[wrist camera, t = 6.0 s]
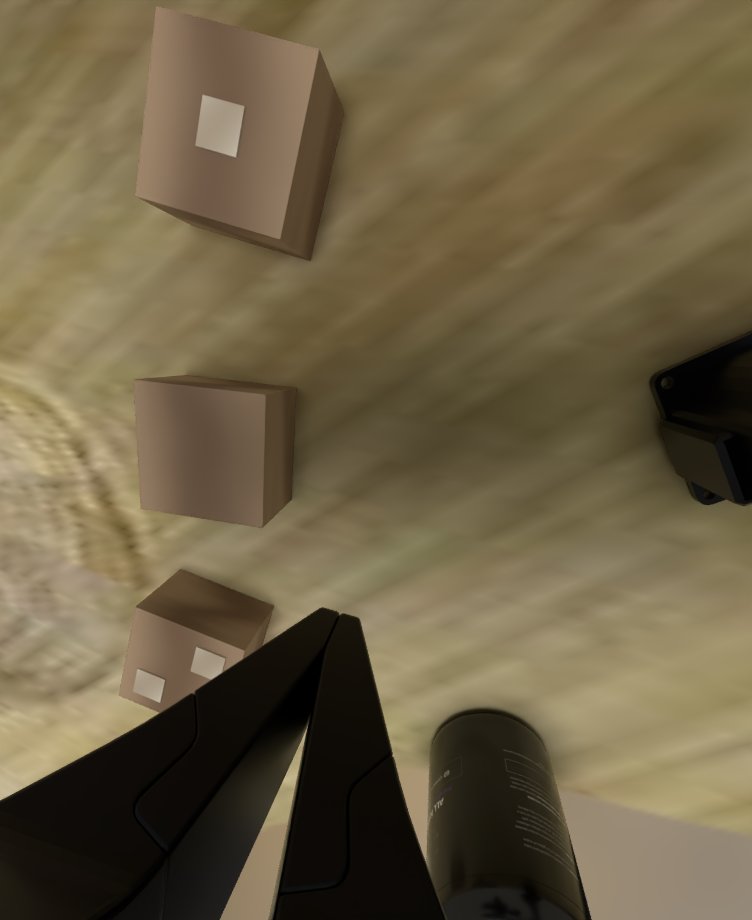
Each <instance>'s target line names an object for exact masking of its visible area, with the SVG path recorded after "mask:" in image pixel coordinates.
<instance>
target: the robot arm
mask: <svg viewBox="0 0 752 920" xmlns="http://www.w3.org/2000/svg"><path fill="white" fill-rule="evenodd" d="M665 377H667V378H668V379H669V384H668V386H666V387H665V388H663V387H662V386H661V381H662V379H664V378H665ZM650 386H651V389H652V392H653V395H654V397H655V400H656V402H657V405H658V408H659V410H660V413H661V416H662V418H663V420H661V423H660V425H659V428H660V431H661V434H662V436H663V439H664V441H665V444H666V447H667V449H668V452H669V454H670V457H671V460H672V462H673V465H674V467H675V470H676V473H677V474H678V475H680V476H682V477H684V478H685V479H686V481H687V484H688V487H689V489H690V492H691V494H692V497H693V498H694V499H695V500H697V501H698V502H700V503H702V504H704V505H711V504H715V503H718V502H720V501H723V500H726V499H727V500H729V501H731V502H733V503H735V504H738V505H741V506H747V505H749V504H752V331H751V332H748V333H746V334H744V335H741V336H739V337H737V338H735V339H732V340H730V341H728V342H725V343H723V344H721V345H719V346H716V347H714V348H712V349H709V350H707V351H705V352H703V353H700V354H698V355H696V356H693V357H691V358H689V359H687V360H684V361H682V362H680V363H677V364H675V365H673V366H671V367H668V368H666V369H664V370H661V371H659V372H658V373H656V374H654V376H653V377H652V378H651V382H650ZM706 490H709V491H710V493H709V495H707V496H706V497H703V493H704V491H706ZM307 725H308V728H307ZM306 728H307V732H306V737H305V742H304V747H303V752H302V757H301V761H300V766H299V771H298V776H297V781H296V786H295V791H294V796H293V801H292V806H291V811H290V816H289V821H288V826H287V831H286V835H285V840H284V845H283V850H282V855H281V860H280V865H279V870H278V875H277V880H276V885H275V890H274V895H273V900H272V904H271V910H270V915H269V919H268V920H447V918H446V915H445V913H444V910H443V907H442V905H441V902H440V899H439V896H438V894H437V891H436V888H435V886H434V883H433V880H432V877H431V875H430V872H429V869H428V867H427V864H426V861H425V859H424V856H423V853H422V851H421V847H420V844H419V842H418V839H417V836H416V833H415V831H414V827H413V824H412V821H411V818H410V815H409V812H408V809H407V806H406V802H405V798H404V794H403V791H402V787H401V784H400V781H399V776H398V772H397V768H396V764H395V760H394V757H393V756H392V755H393V752H392V748H391V744H390V740H389V736H388V732H387V728H386V724H385V720H384V716H383V712H382V707H381V703H380V699H379V695H378V691H377V687H376V683H375V679H374V675H373V671H372V667H371V662H370V658H369V654H368V650H367V646H366V642H365V638H364V634H363V630H362V626H361V622H360V619H359V618H358V617H355V616H351V615H348V614H344V613H343V614H341V615H339V612H337V611H334V610H330V609H327V608H323V607H322V608H319V609H318V610H316V611H315V612H313V613H312V614H310V615H309V616H307V617H306V618H304V619H303V620H301V621H300V622H298V623H297V624H295V625H293V626H292V627H290V628H289V629H287V630H286V631H284V632H283V633H281V634H280V635H278V636H277V637H275V638H274V639H272V640H271V641H269V642H268V643H266V644H265V645H263V646H262V647H260V648H259V649H257V650H256V651H254V652H253V653H251V654H249V655H248V656H246V657H245V658H243V659H242V660H240V661H239V662H237V663H236V664H234V665H233V666H231V667H230V668H228V669H227V670H225V671H224V672H222V673H221V674H219V675H218V676H216V677H215V678H213V679H212V680H210V681H209V682H207V683H205V684H204V685H202V686H201V687H199V688H198V689H196V690H195V691H194V694H193V693H190V694H188V695H187V696H185V697H184V698H182V699H181V700H179V701H178V702H176V703H175V704H173V705H172V706H170V707H168V708H167V709H165V710H164V711H162V712H160V713H159V714H157V715H156V716H154V717H152V718H151V719H149V720H148V721H146V722H144V723H143V724H141V725H139V726H137V727H136V728H134V729H132V730H130V731H129V732H127V733H125V734H123V735H121V736H120V737H118V738H116V739H114V740H113V741H111V742H109V743H107V744H105V745H104V746H102V747H100V748H98V749H96V750H94V751H92V752H90V753H89V754H87V755H85V756H83V757H81V758H79V759H77V760H76V761H74V762H72V763H70V764H68V765H66V766H64V767H62V768H61V769H59V770H57V771H55V772H53V773H51V774H49V775H47V776H46V777H44V778H42V779H40V780H38V781H36V782H34V783H33V784H31V785H29V786H27V787H25V788H23V789H21V790H19V791H18V792H16V793H14V794H12V795H10V796H8V797H6V798H4V799H2V800H0V920H220V918H221V916H222V913H223V911H224V909H225V907H226V904H227V902H228V900H229V898H230V896H231V894H232V891H233V889H234V887H235V885H236V883H237V880H238V878H239V876H240V873H241V872H242V869H243V867H244V865H245V863H246V861H247V858H248V856H249V854H250V852H251V850H252V848H253V845H254V843H255V841H256V839H257V836H258V834H259V832H260V830H261V828H262V826H263V823H264V821H265V819H266V817H267V815H268V812H269V810H270V808H271V806H272V804H273V801H274V799H275V797H276V795H277V793H278V790H279V788H280V786H281V784H282V782H283V779H284V777H285V775H286V773H287V771H288V768H289V766H290V764H291V762H292V760H293V757H294V755H295V753H296V751H297V749H298V746H299V744H300V742H301V740H302V738H303V735H304V733H305V730H306Z"/></svg>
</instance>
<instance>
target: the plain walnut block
mask: <svg viewBox="0 0 752 920" xmlns="http://www.w3.org/2000/svg"><path fill="white" fill-rule="evenodd" d="M133 381H134V398H135V416H136V433H137V451H138V468H139V486H140V503H141V509H145V510H151V511H158V512H164V513H170V514H177V515H183V516H190V517H196V518H203V519H209V520H215V521H222V522H228V523H235V524H241V525H248V526H254V527H260V528H263V527H264V526H265V525H266V524H267V523H268V522H269V521H270V520H271V519H272V518H273V517H274V516H275V515H276V514H277V513H278V512H279V511H280V510H281V509H282V508H283V507H284V506H285V505H286V504H287V503H288V502H289V501H291V500H292V477H293V454H294V431H295V408H296V388H294V387H286V386H277V385H268V384H259V383H250V382H241V381H232V380H223V379H214V378H205V377H196V376H187V375H183V376H171V377H159V378H147V379H134V380H133Z"/></svg>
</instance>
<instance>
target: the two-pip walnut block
mask: <svg viewBox="0 0 752 920" xmlns="http://www.w3.org/2000/svg"><path fill="white" fill-rule="evenodd" d="M273 608H274V606H273V605H270V604H268V603H265V602H263V601H260V600H257V599H255V598H252V597H250V596H247V595H245V594H242V593H240V592H237V591H235V590H232V589H230V588H227V587H225V586H222V585H220V584H217V583H214V582H212V581H209V580H207V579H204V578H202V577H199V576H197V575H194V574H192V573H189V572H187V571H184V570H182V569H180V570H179V571H178V572H177V573H176V574H174V575H173V576H172V577H171V578H170V579H168V580H167V581H166V582H165V583H164V584H162V585H161V586H160V587H159V588H158V589H156V590H155V591H154V592H153V593H152V594H150V595H149V596H148V597H147V598H146V599H144V600H143V601H142V602H141V603H140V604H138V605H137V606H136V607H135V612H134V617H133V623H132V628H131V633H130V638H129V644H128V649H127V654H126V660H125V665H124V670H123V675H122V681H121V686H120V691H119V696H121V697H123V698H126V699H128V700H131V701H133V702H135V703H138V704H140V705H143V706H145V707H147V708H150V709H152V710H155V711H157V712H159V713H160V712H162V711H164V710H165V709H167V708H168V707H170V706H172V705H173V704H175V703H176V702H178V701H179V700H181V699H182V698H184V697H185V696H187V695H188V694H190V693H193V694H194V691H195V690H196V689H198V688H199V687H201V686H202V685H204V684H205V683H207V682H209V681H210V680H212V679H213V678H215V677H216V676H218V675H219V674H221V673H222V672H224V671H225V670H227V669H228V668H230V667H231V666H233V665H234V664H236V663H237V662H239V661H240V660H242V659H243V658H245V657H246V656H248V655H249V654H251V653H253V652H254V651H256V650H257V649H259V648H260V647H262V644H263V641H264V637H265V634H266V631H267V628H268V624H269V621H270V618H271V615H272V611H273Z"/></svg>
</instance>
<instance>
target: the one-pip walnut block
mask: <svg viewBox="0 0 752 920" xmlns="http://www.w3.org/2000/svg"><path fill="white" fill-rule="evenodd" d="M343 116H344V110H343V108H342V105H341V103H340V100H339V98H338V95H337V93H336V90H335V88H334V85H333V83H332V80H331V78H330V75H329V72H328V70H327V67H326V65H325V62H324V60H323V57H322V55H321V52H320V50H319V49H317V48H313V47H309V46H305V45H302V44H298V43H294V42H290V41H286V40H283V39H279V38H275V37H271V36H268V35H264V34H260V33H256V32H252V31H249V30H245V29H241V28H237V27H234V26H230V25H226V24H222V23H218V22H215V21H211V20H207V19H203V18H200V17H196V16H192V15H188V14H185V13H181V12H177V11H173V10H169V9H166V8H162V7H158V6H156V13H155V22H154V31H153V40H152V49H151V58H150V67H149V76H148V85H147V94H146V103H145V112H144V121H143V130H142V139H141V148H140V157H139V166H138V175H137V184H136V193H135V196H136V197H138V198H140V199H142V200H143V201H145V202H147V203H149V204H151V205H153V206H155V207H157V208H159V209H161V210H163V211H165V212H167V213H169V214H171V215H173V216H175V217H176V218H178V219H180V220H182V221H184V222H186V223H188V224H190V225H192V226H196V227H199V228H202V229H206V230H209V231H212V232H215V233H219V234H222V235H225V236H229V237H232V238H235V239H239V240H242V241H245V242H249V243H252V244H255V245H259V246H262V247H265V248H269V249H272V250H275V251H279V252H282V253H285V254H289V255H292V256H295V257H299V258H302V259H305V260H309V261H310V260H311V256H312V252H313V247H314V243H315V238H316V234H317V230H318V225H319V221H320V217H321V212H322V208H323V203H324V199H325V195H326V190H327V186H328V182H329V177H330V173H331V168H332V164H333V160H334V155H335V151H336V147H337V142H338V138H339V133H340V129H341V125H342V120H343Z"/></svg>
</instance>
